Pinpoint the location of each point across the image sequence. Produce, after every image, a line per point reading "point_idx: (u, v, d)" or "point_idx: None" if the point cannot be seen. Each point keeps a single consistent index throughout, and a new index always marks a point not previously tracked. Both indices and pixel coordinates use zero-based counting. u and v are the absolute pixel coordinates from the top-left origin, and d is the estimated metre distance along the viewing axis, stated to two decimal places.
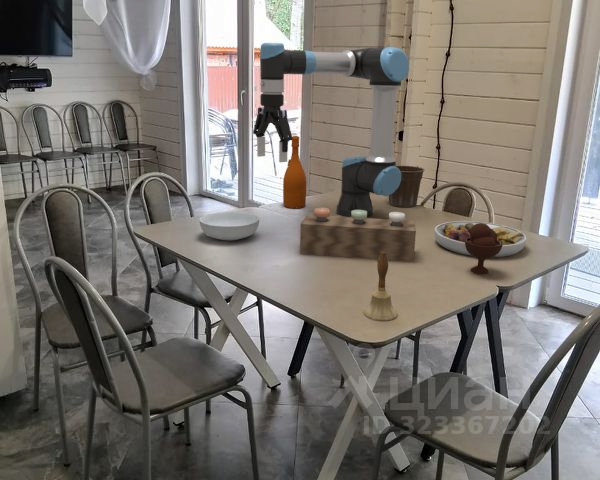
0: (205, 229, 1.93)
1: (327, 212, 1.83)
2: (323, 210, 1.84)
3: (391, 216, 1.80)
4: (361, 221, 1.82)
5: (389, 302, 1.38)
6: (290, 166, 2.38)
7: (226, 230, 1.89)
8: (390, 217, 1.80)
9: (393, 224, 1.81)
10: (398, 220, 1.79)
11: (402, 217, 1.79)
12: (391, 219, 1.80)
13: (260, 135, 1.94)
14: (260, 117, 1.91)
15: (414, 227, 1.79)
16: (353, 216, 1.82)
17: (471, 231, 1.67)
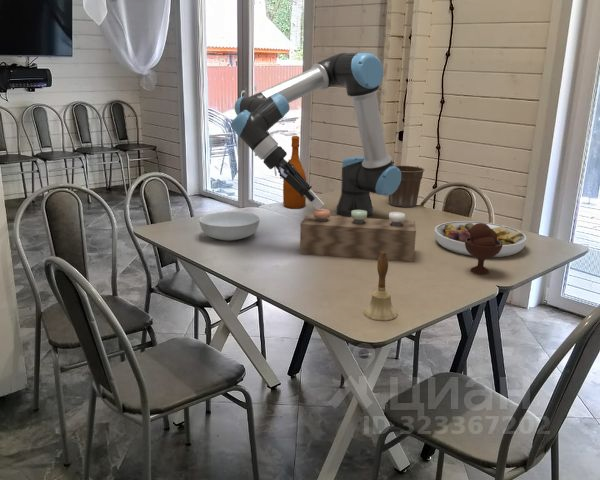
0: (205, 229, 1.93)
1: (327, 213, 1.83)
2: (323, 211, 1.84)
3: (391, 216, 1.80)
4: (361, 221, 1.82)
5: (389, 302, 1.38)
6: None
7: (226, 230, 1.89)
8: (390, 217, 1.80)
9: (393, 224, 1.81)
10: (398, 220, 1.79)
11: (402, 217, 1.79)
12: (391, 219, 1.80)
13: None
14: None
15: (414, 227, 1.79)
16: (353, 216, 1.82)
17: (471, 231, 1.67)
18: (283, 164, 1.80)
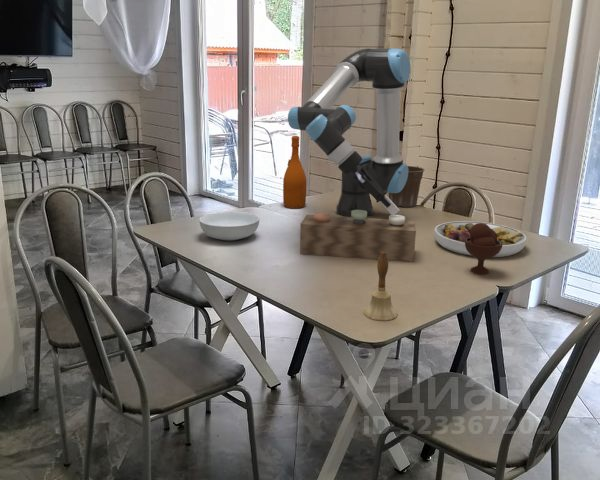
0: (205, 229, 1.93)
1: (327, 217, 1.84)
2: (323, 214, 1.85)
3: (391, 219, 1.80)
4: (361, 221, 1.82)
5: (389, 302, 1.38)
6: (290, 166, 2.38)
7: (226, 230, 1.89)
8: (390, 220, 1.81)
9: None
10: (398, 223, 1.79)
11: (402, 220, 1.80)
12: (391, 222, 1.80)
13: None
14: None
15: (414, 227, 1.79)
16: (353, 216, 1.82)
17: (471, 231, 1.67)
18: (359, 169, 1.77)
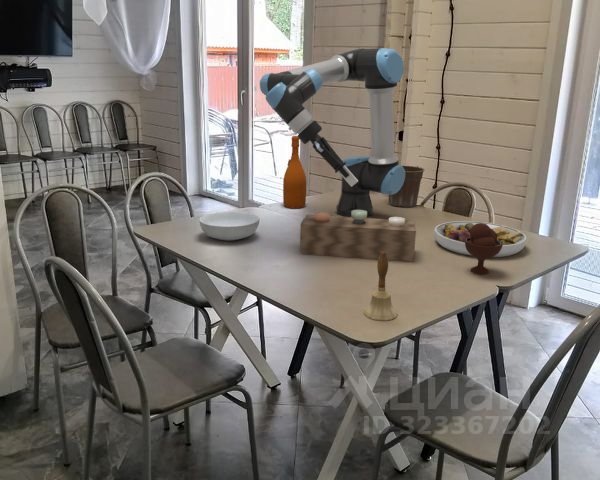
0: (205, 229, 1.93)
1: (327, 217, 1.84)
2: (323, 214, 1.85)
3: (391, 221, 1.80)
4: (361, 221, 1.82)
5: (389, 302, 1.38)
6: (290, 166, 2.38)
7: (226, 230, 1.89)
8: (390, 222, 1.81)
9: None
10: (398, 225, 1.80)
11: (402, 222, 1.80)
12: (391, 224, 1.81)
13: None
14: None
15: (414, 227, 1.79)
16: (353, 216, 1.82)
17: (471, 231, 1.67)
18: (318, 139, 1.76)
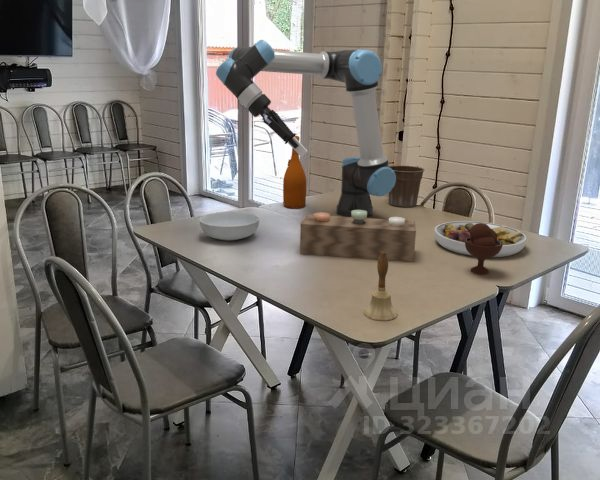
0: (205, 229, 1.93)
1: (327, 217, 1.84)
2: (323, 214, 1.85)
3: (391, 221, 1.80)
4: (361, 221, 1.82)
5: (389, 302, 1.38)
6: (290, 166, 2.38)
7: (226, 230, 1.89)
8: (390, 222, 1.81)
9: None
10: (398, 225, 1.80)
11: (402, 222, 1.80)
12: (391, 224, 1.81)
13: None
14: None
15: (414, 227, 1.79)
16: (353, 216, 1.82)
17: (471, 231, 1.67)
18: (267, 111, 1.84)
